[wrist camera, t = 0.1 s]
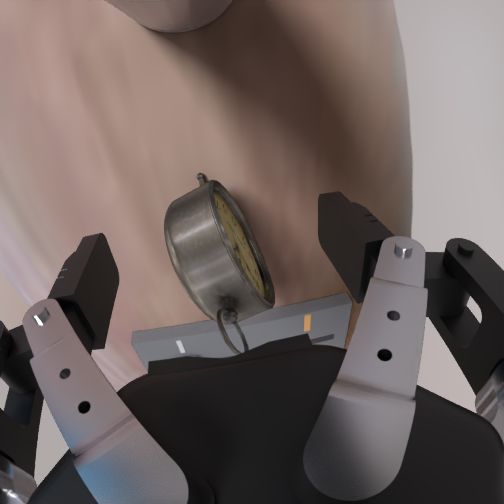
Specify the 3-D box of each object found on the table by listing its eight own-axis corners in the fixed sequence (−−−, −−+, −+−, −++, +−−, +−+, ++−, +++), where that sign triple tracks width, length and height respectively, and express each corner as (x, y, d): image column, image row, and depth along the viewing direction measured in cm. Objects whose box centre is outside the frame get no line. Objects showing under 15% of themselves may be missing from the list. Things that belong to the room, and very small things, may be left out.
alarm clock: (261, 243, 33) (309, 375, 20) (216, 266, 34) (238, 403, 21) (210, 155, 27) (232, 268, 14) (158, 185, 27) (134, 317, 14)
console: (132, 332, 37) (131, 344, 36) (346, 292, 40) (352, 303, 38) (160, 381, 44) (160, 392, 43) (337, 347, 47) (342, 357, 45)
